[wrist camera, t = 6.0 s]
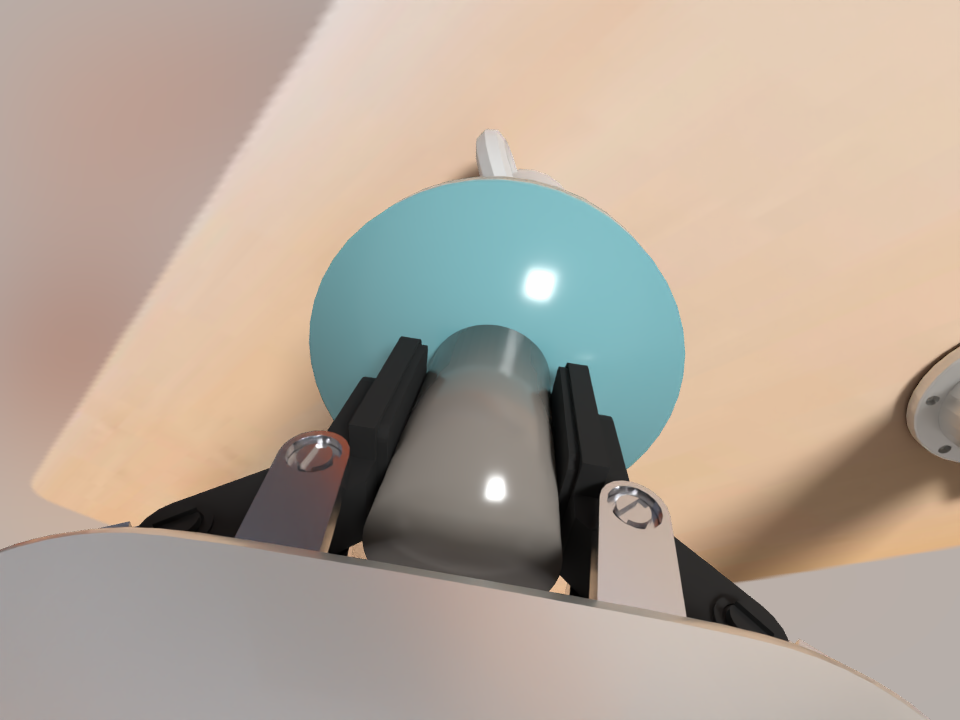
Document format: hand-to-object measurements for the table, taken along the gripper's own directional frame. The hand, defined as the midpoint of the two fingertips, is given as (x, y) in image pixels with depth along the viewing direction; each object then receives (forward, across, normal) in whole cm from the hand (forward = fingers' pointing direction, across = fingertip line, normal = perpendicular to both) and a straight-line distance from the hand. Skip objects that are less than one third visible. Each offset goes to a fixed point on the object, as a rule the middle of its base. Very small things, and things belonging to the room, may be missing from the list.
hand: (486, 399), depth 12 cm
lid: (+2, 0, 0) cm, 2 cm away
